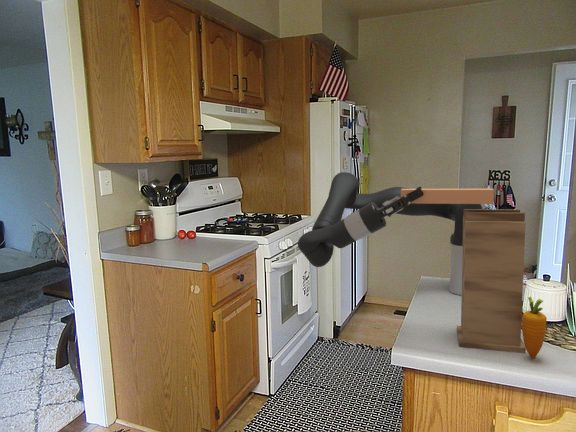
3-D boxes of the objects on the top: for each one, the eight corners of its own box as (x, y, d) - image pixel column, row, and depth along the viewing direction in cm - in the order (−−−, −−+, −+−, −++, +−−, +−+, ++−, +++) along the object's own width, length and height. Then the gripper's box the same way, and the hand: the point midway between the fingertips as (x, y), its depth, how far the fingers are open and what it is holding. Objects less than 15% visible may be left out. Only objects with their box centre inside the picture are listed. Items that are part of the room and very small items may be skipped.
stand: (456, 329, 119) (459, 208, 114) (517, 334, 114) (522, 208, 109) (459, 346, 109) (461, 214, 104) (525, 353, 104) (531, 214, 99)
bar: (401, 201, 115) (401, 188, 114) (491, 202, 108) (492, 188, 107) (400, 203, 112) (400, 189, 111) (493, 204, 105) (494, 189, 104)
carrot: (519, 352, 104) (521, 293, 102) (542, 355, 103) (545, 294, 100) (522, 361, 100) (524, 299, 98) (546, 364, 98) (549, 301, 96)
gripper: (353, 213, 110) (413, 179, 105) (361, 206, 124) (415, 176, 118) (368, 238, 110) (429, 206, 104) (374, 229, 124) (429, 199, 118)
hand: (422, 190), depth 111 cm, fingers closed on bar, 3 cm apart
